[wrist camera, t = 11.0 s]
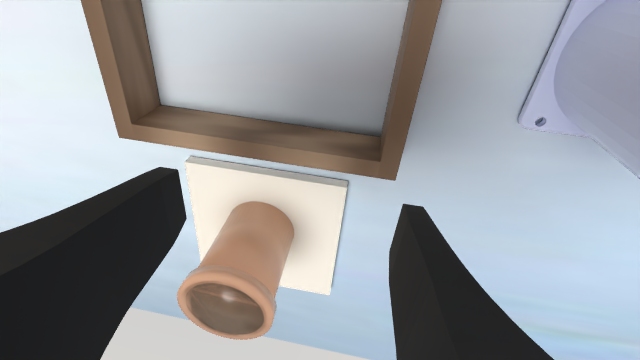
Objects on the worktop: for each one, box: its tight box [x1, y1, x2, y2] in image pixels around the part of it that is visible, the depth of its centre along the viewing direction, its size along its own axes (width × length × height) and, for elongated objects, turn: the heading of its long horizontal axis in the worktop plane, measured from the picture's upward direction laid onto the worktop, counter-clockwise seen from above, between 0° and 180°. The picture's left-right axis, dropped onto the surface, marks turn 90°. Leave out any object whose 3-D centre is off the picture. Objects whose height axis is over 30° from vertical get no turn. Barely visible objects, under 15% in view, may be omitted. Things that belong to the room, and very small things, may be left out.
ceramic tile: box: [185, 156, 348, 295], centre depth 25 cm, size 11×11×1 cm
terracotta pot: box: [177, 201, 294, 340], centre depth 22 cm, size 6×6×7 cm
